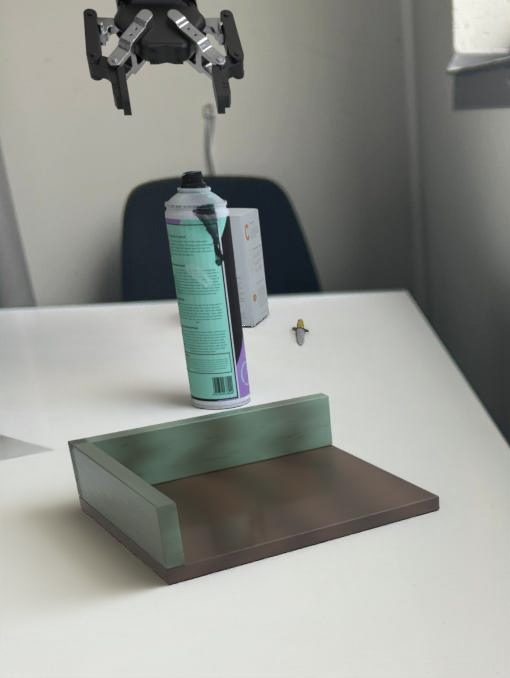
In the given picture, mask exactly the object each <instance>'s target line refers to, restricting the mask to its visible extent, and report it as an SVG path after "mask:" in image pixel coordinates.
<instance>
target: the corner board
mask: <svg viewBox="0 0 510 678" xmlns="http://www.w3.org/2000/svg"><path fill="white" fill-rule="evenodd" d="M330 408H331V407H330V396H329V395H327V394H326V393H322V392H319V393H314V394H309V395H303V396H298V397H291V398H287V399H282V400H277V401H271V402H267V403H261V404H256V405H250V406H245V407H239V408H235V409H229V410H225V411H220V412H213V413H209V414H203V415H198V416H193V417H188V418H187V417H186V418H184V419H176V420H172V421H167V422H166V421H165V422H162V423H156V424H151V425H145V426H140V427H134V428H129V429H125V430H120V431H115V432H108V433H104V434H98V435H93V436H88V437H82V438H76V439H73V440H72V439H71V440H68V441H67V446H68V449H69V456H70V460H71V464H72V470H73V474H74V480H75V484H76V489H77V494H78V497H79V504H80V508H81V510H82V511H84V512H85V514H87V515H88V516H89V517H90V518H92V519H93V520H94V521H95V522H96V523H97V524H98V525H100V526H101V527H102V528H103V529H105V530H106V532H108V533H109V534H110V535H111V536H112V537H113V538H115V539H116V540H117V541H119V543H120V544H122V545H123V546H124V547H125V548H127V550H129V551H130V552H131V553H132V554H133V555H134V556H136V557H137V558H138V559H139V560H141V561H142V562H143V563H144V564H145V565H146V566H147V567H149V568H150V569H151V570H152V571H154V572H155V574H157V575H158V576H159V577H160V578H161V579H162V580H164V581H165V582H166V583H167V584H168V585H173V584H176V583H179V582H183V581H184V582H185V581H187V580H190V579H195V578H198V577H201V576H205V575H209V574H212V573H216V572H219V571H222V570H226V569H231V568H233V567H237V566H241V565H245V564H247V563H251V562H256V561H257V560H259V561H260V560H263V559H265V558H269V557H273V556H276V555H281V554H284V553H287V552H291V551H294V550H299V549H302V548H306V547H308V546H309V547H310V546H313V545H316V544H319V543H323V542H327V541H331V540H334V539H337V538H341V537H344V536H348V535H352V534H355V533H360V532H362V531H367V530H370V529H374V528H377V527H380V526H384V525H388V524H392V523H395V522H399V521H402V520H406V519H409V518H413V517H417V516H419V515H423V514H427V513H430V512H434V511H438V510H440V496H439V495H437V494H435V493H433V492H431V491H429V490H428V489H425V488H423V487H421V486H418V485H416V484H415V483H412V482H410V481H408V480H406V479H404V478H403V477H400V476H398V475H395V474H394V473H391V472H389V471H387V470H385V469H384V468H381V467H379V466H377V465H374V464H373V463H371V462H368V461H367V460H364V459H362V458H360V457H358V456H356V455H354V454H352V453H350V452H348V451H346V450H344V449H341V448H339V447H338V446H335V445H333V432H332V419H331V409H330Z"/></svg>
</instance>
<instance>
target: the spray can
mask: <svg viewBox="0 0 510 678" xmlns="http://www.w3.org/2000/svg"><path fill="white" fill-rule="evenodd" d="M202 172H203V171H202V170H188V171H185V172H183V173H182V174H181V183H179V187H177V188H176V190H177V193H175V194H174V195H172V197H170V198H169V200H167V201H165V202H164V207H165V208H166V209H165V211H164V218H165V225H166V231H167V239H168V246H169V254H170V259H171V266H172V273H173V280H174V287H175V294H176V300H177V301H176V302H177V307H178V315H179V322H180V329H181V337H182V342H183V343H182V344H183V349H184V357H185V358H184V359H185V363H186V371H187V377H188V385H189V391H190V392H189V393H190V399H191V405H193V406H194V407H196V408H199V409H205V410H223V409H224V410H225V409H233V408H238V407H241V406H244V405H247V404H249V402H251V389H250V382H249V373H248V372H249V371H248V363H247V355H246V354H247V353H246V346H245V339H244V329H243V328H244V327H242V319H241V311H240V302H239V293H238V285H237V276H236V267H235V259H234V250H233V241H232V233H231V224H230V215H229V210H228V209H227V208H228V207H227V206H228V202H227V201H228V200H226V199H223V198H221V197H220V196H218V195H217V194H216V193H214V192H212V191H211V190H212V188H211V187H210V186H208V185H207V183H206V182H204V177H203V176H204V175H203V173H202Z"/></svg>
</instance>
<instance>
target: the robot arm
mask: <svg viewBox="0 0 510 678" xmlns="http://www.w3.org/2000/svg"><path fill="white" fill-rule="evenodd" d="M115 5H116V13H115V14H114V17H102V16H101V17H100V16H98V13H97V11H96V10H95V9H93V8H85V9H84V10H83V14H82V15H83V16H82V17H83V28H84V42H85V56H86V61H87V66H88V72H89V74H90V75H89V76H90V78H91V79H92V80H93V81H96V82H97V81H98V82H99V81H102V80H103V79H105V80H107V81H108V82H109V83H110V84H111V88H112V89H111V90H112V96H113V102H114V103H113V104H114V106H115V108H116V109H117V110H123V115H124V116H133V113H132V112H133V111H132V106H131V100H130V92H129V87H128V86H129V85H128V79H129V78H130V77H131V76H132V75H136V74H137V73H138V72H139V71H140V70H141V68H142V67H143V66H144V64H145V63H146V62H149V65H163V64H172V65H184V63H185V62H186V63H187V64H188V65H190V67H192V68H193V69H194V70H195V71H197V73H199V74H204V75H205V76H207V77H208V78H209V79H210V80H211V85H212V92H213V97H214V101H215V106H216V113H217V114H218V115H226V109H230V108H231V107H232V106H231V105H232V91H231V87H230V79H232V78H233V79H234V80H243V79H244V78H245V68H244V67H245V65H244V60H245V53H244V49H243V46H242V43H241V39H240V35H239V32H238V27H237V25H236V21H235V17H234V14H233V12H232V11H231V10H229V9H221V11H220V12H219V17H205V16H204V15H203V14H202V13H201V12H200V10H199V7H198V2H197V0H115ZM111 35H116V37H117V38H118V43H117V46H116V47H115V48H114V49H113V51H112V52H111V53H110V54H109V56H105V55H103V49H102V47H105V46H106V45H107V42H108V41H110V40H109V39H110V37H111ZM207 35H211V36H212V37H213V38H214V39H215V41H216V42H217V43H218V45H219V46H220V47H221V46H223V48H224V52H225V55H223V54H222V53H221V51H218V50H217V49H216V48H215V47H214V46H213V45H212V44H211V42H210V40H209V38H208V37H207Z"/></svg>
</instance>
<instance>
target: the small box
mask: <svg viewBox="0 0 510 678" xmlns="http://www.w3.org/2000/svg"><path fill="white" fill-rule="evenodd" d="M226 208H227V209H228V210H229V215H230V224H231V233H232V241H233V250H234V259H235V267H236V276H237V285H238V293H239V302H240V311H241V319H242V325H243V326H244V325H245V326H254V327H256V326H257V325H258V324H259V323H260V322H261V321H262V320H263V318H264V317H265V316H266V315H267V314H268V313H269V314H270V309H269V300H268V289H267V284H266V283H267V282H266V273H265V264H264V263H265V262H264V254H263V252H264V251H263V245H262V244H263V243H262V235H261V225H260V216H259V209H258V208H253V207H226ZM269 314H268V315H269ZM268 315H267V316H268ZM267 316H266V317H267ZM266 317H265V318H266ZM265 318H264V319H265ZM259 321H260V322H259ZM258 322H259V323H258ZM257 323H258V324H257ZM256 324H257V325H256Z"/></svg>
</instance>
